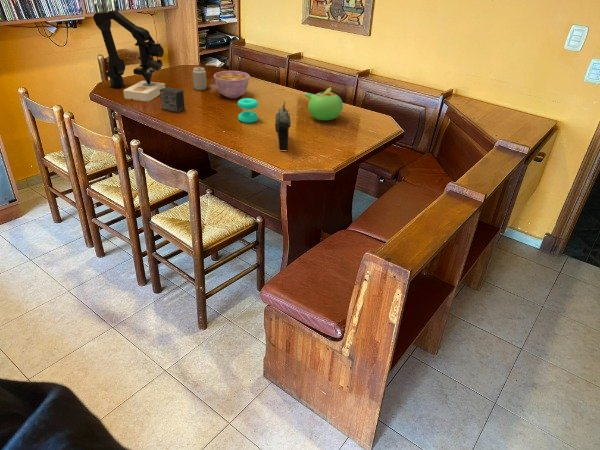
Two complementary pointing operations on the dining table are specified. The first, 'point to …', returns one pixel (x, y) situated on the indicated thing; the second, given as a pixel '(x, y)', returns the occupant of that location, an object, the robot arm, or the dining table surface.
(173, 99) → the small box
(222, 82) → the bowl of food
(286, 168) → the dining table surface
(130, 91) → the console
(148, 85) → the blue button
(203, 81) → the can
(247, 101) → the donuts
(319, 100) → the green rounded body
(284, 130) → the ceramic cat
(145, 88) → the orange button
